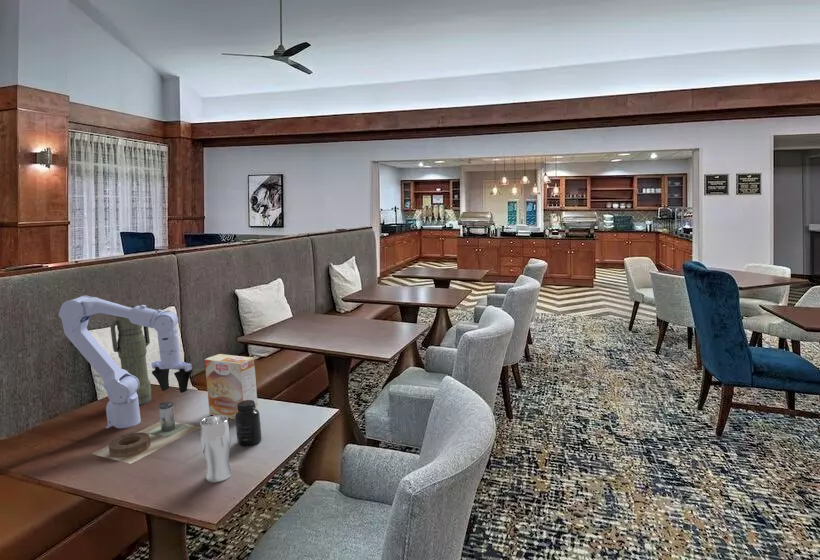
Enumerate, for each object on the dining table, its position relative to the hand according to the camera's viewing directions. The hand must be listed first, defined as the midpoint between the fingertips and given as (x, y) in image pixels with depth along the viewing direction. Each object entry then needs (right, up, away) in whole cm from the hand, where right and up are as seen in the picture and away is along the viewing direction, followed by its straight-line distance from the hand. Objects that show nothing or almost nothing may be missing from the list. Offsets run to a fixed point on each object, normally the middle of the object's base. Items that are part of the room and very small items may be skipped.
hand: (174, 390), depth 160 cm
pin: (+2, -10, -7) cm, 13 cm away
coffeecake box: (+17, -9, +6) cm, 20 cm away
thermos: (-22, -9, +20) cm, 31 cm away
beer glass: (+27, -15, -33) cm, 45 cm away
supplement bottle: (+29, -12, -15) cm, 34 cm away
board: (-1, -12, -13) cm, 18 cm away
